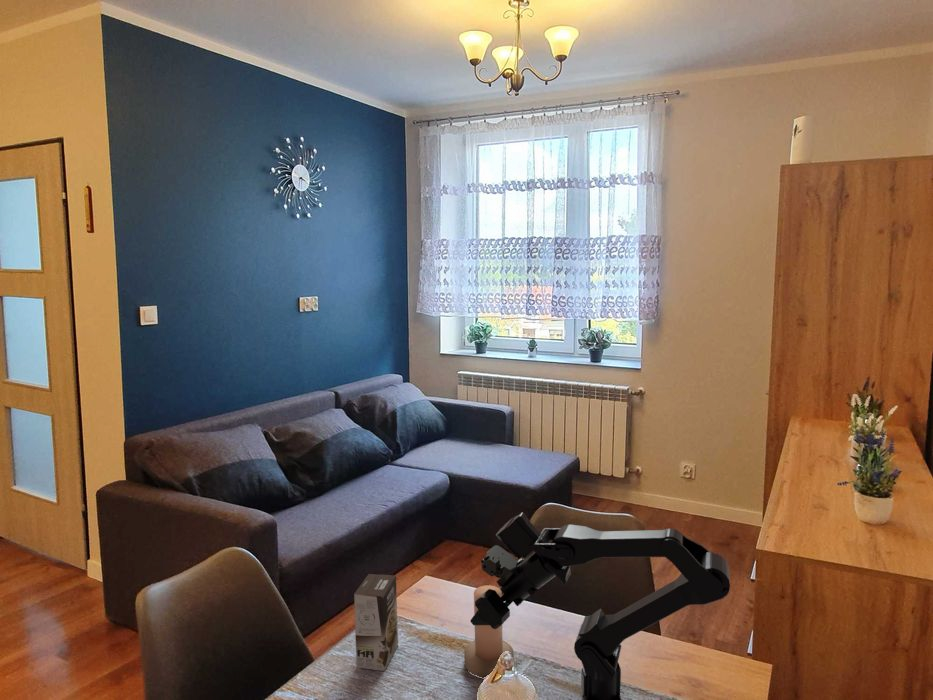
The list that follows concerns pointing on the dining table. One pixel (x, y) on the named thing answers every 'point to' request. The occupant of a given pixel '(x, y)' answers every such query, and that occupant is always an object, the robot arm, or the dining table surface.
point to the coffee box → (376, 621)
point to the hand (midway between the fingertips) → (483, 611)
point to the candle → (487, 632)
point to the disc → (481, 660)
